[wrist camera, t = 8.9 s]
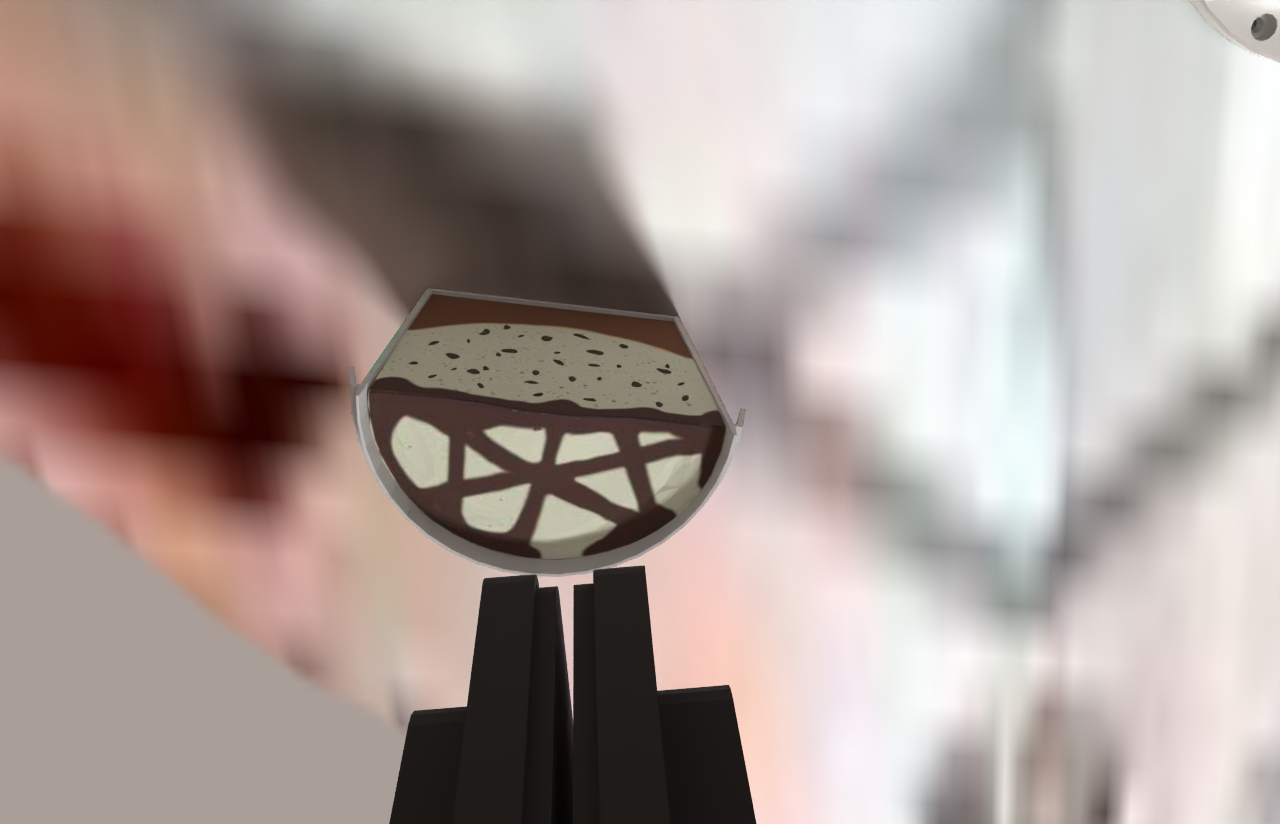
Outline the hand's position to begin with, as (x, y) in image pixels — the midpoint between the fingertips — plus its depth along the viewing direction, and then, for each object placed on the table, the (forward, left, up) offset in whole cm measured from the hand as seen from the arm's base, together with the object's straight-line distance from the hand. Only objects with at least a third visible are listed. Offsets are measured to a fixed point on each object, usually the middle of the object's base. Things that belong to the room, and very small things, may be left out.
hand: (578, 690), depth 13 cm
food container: (+2, +10, -32) cm, 34 cm away
